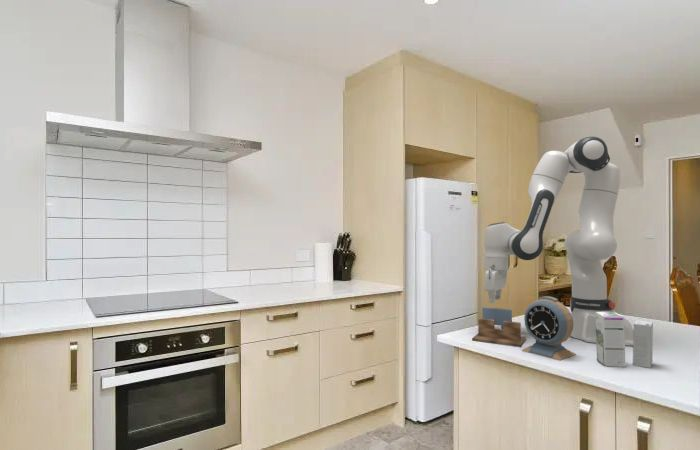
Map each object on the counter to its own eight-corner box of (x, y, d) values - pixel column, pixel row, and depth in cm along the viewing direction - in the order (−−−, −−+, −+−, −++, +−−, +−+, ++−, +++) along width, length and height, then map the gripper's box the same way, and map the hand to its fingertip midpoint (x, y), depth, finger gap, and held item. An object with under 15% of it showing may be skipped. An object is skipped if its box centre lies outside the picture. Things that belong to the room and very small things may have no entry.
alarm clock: (518, 350, 132) (518, 295, 133) (535, 345, 138) (535, 292, 138) (563, 361, 121) (562, 301, 121) (579, 355, 127) (578, 298, 127)
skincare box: (634, 360, 122) (634, 319, 122) (653, 363, 119) (653, 321, 119) (632, 365, 117) (631, 322, 117) (651, 368, 114) (651, 325, 114)
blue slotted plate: (512, 333, 153) (511, 309, 154) (511, 334, 152) (511, 310, 152) (483, 330, 159) (483, 307, 159) (482, 331, 157) (482, 307, 158)
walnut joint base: (526, 339, 145) (525, 320, 145) (520, 347, 136) (520, 326, 136) (480, 333, 153) (479, 315, 154) (472, 340, 144) (472, 321, 144)
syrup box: (626, 367, 115) (625, 315, 116) (603, 366, 116) (602, 314, 117) (617, 361, 121) (616, 311, 121) (595, 360, 122) (595, 311, 122)
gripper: (498, 267, 145) (497, 306, 145) (509, 263, 163) (508, 298, 163) (480, 265, 149) (479, 304, 149) (493, 262, 166) (492, 297, 166)
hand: (495, 301), depth 156 cm, fingers open, 8 cm apart
